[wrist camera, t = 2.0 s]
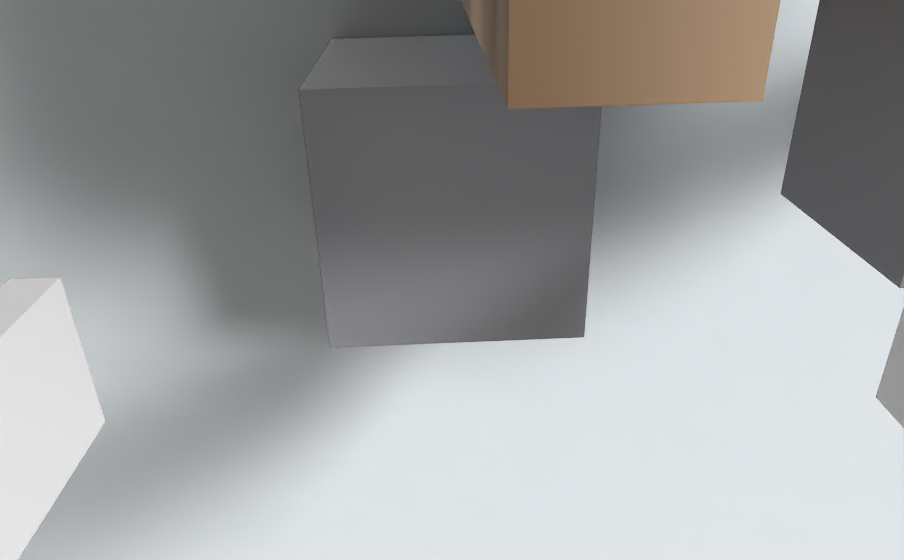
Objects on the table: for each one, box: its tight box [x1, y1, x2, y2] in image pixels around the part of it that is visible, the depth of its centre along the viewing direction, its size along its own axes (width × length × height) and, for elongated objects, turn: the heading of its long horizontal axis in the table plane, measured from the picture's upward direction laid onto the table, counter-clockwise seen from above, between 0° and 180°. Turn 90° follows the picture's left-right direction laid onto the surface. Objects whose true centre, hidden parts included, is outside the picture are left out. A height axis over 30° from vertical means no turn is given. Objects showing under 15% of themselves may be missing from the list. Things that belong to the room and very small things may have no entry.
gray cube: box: [299, 35, 601, 348], centre depth 18 cm, size 6×6×6 cm
